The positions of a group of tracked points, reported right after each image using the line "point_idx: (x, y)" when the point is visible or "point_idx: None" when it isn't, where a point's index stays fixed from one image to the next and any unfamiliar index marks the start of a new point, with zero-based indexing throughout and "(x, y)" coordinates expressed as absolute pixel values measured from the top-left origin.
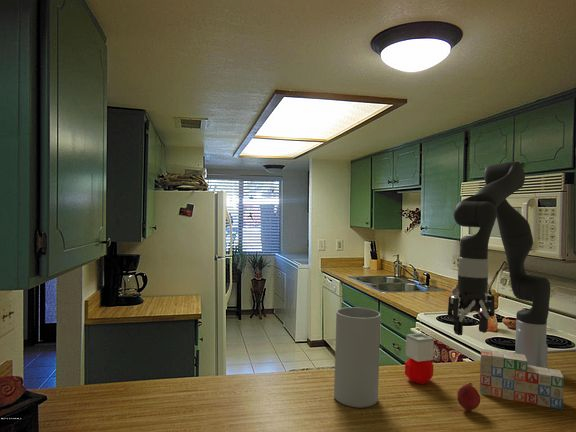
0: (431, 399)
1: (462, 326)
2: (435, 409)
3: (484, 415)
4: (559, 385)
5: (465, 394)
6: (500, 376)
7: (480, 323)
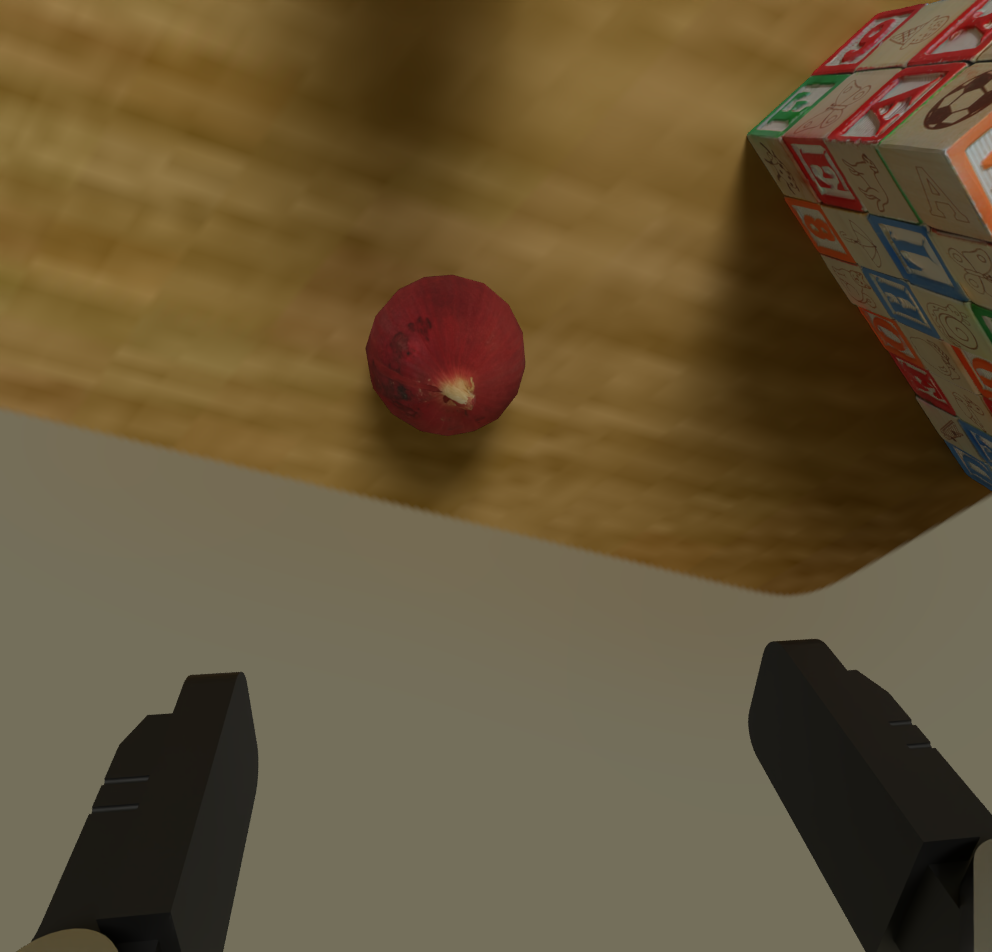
0: (299, 82)
1: (222, 925)
2: (229, 238)
3: None
4: None
5: (388, 400)
6: (905, 270)
7: (839, 771)
